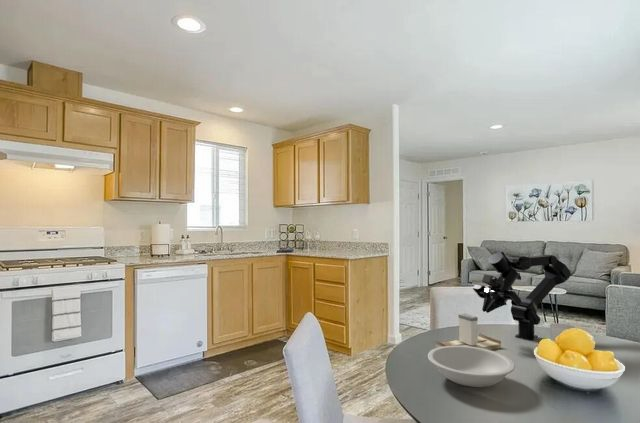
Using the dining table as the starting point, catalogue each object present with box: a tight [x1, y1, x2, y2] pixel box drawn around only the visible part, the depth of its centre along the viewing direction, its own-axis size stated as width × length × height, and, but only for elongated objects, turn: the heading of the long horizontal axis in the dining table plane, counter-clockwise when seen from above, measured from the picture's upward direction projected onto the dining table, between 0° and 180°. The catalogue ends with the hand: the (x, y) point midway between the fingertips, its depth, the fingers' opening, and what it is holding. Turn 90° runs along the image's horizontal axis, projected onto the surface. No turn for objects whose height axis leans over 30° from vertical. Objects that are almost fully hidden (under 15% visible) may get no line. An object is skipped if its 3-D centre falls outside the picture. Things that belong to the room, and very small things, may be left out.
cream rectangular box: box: [458, 313, 479, 346], centre depth 141 cm, size 3×6×10 cm, turn 23°
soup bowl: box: [427, 346, 516, 388], centre depth 112 cm, size 24×24×7 cm
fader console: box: [435, 333, 502, 351], centre depth 141 cm, size 22×10×2 cm, turn 113°
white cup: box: [549, 322, 577, 341], centre depth 134 cm, size 8×8×10 cm
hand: (484, 311), depth 145 cm, fingers closed
